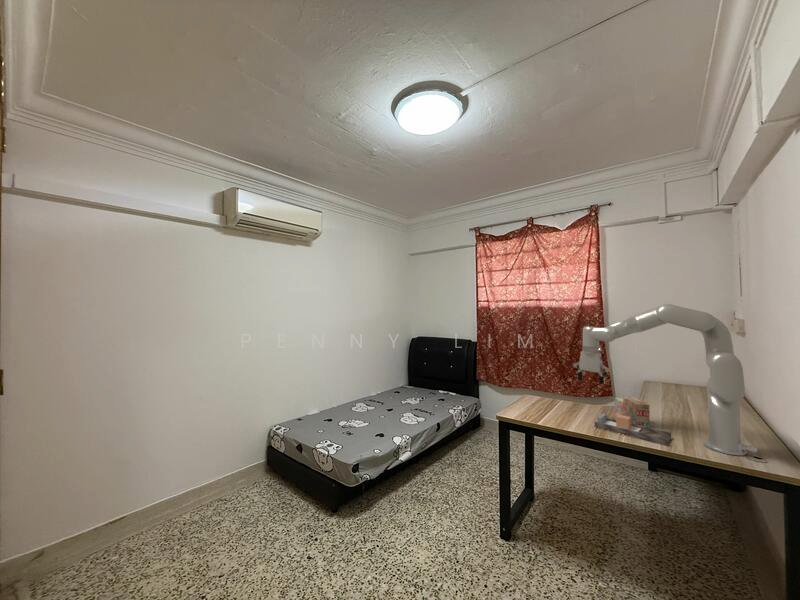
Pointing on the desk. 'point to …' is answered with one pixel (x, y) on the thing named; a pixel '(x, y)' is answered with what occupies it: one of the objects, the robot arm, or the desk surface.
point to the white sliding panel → (603, 419)
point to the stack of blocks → (633, 410)
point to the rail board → (644, 434)
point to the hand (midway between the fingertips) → (590, 382)
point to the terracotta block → (623, 421)
